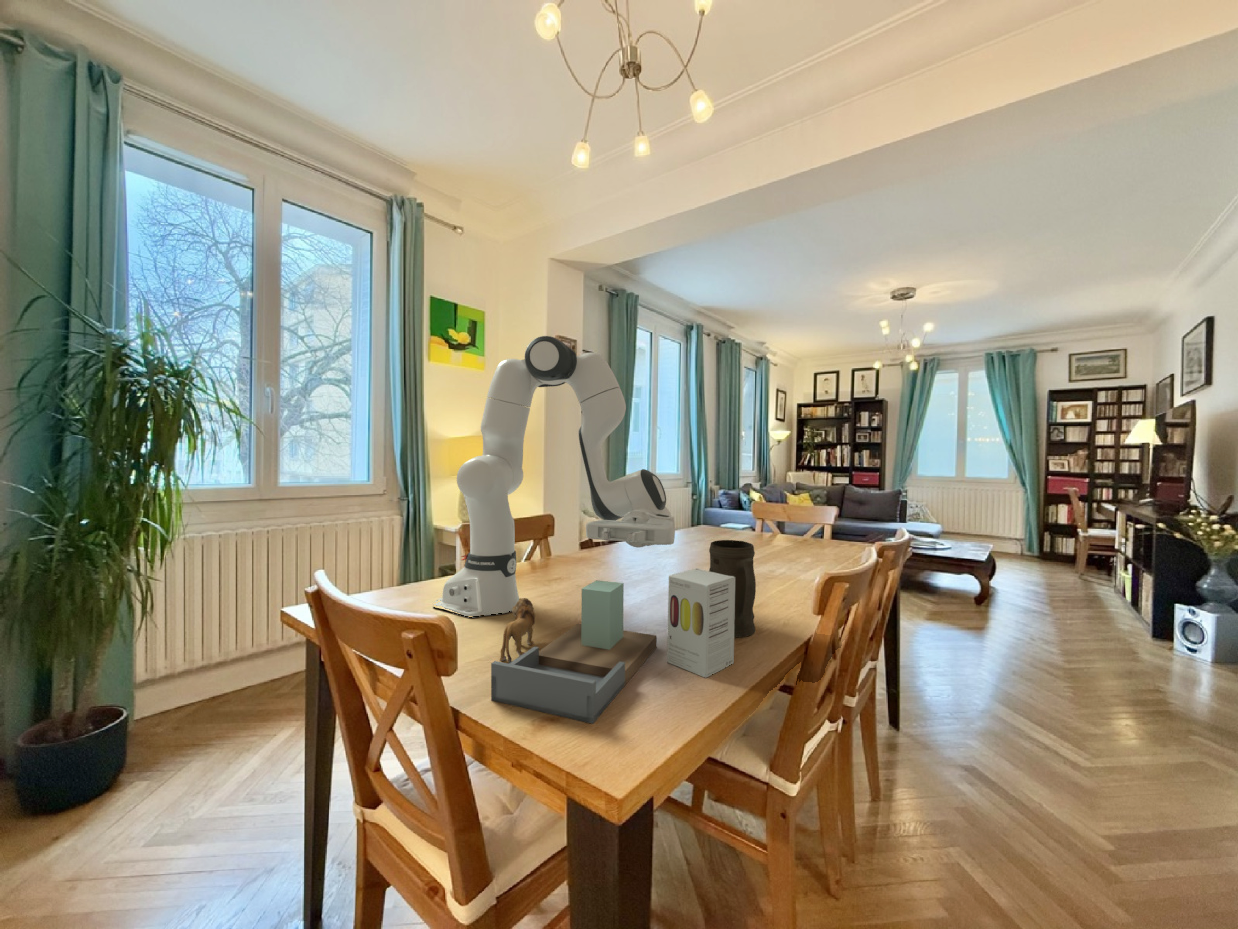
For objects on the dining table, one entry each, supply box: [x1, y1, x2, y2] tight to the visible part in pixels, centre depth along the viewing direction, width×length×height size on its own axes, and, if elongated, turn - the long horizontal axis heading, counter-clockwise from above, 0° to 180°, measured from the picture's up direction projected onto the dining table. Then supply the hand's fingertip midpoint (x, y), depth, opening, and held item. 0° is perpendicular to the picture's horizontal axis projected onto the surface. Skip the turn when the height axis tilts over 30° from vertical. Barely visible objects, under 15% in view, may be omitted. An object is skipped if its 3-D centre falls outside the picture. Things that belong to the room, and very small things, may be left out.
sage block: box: [580, 579, 625, 650], centre depth 99 cm, size 6×7×11 cm
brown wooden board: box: [539, 623, 658, 686], centre depth 97 cm, size 18×18×2 cm
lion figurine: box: [499, 597, 536, 664], centre depth 100 cm, size 15×5×9 cm, turn 0°
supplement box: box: [666, 568, 735, 678], centre depth 94 cm, size 10×9×17 cm
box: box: [490, 646, 626, 724], centre depth 82 cm, size 18×13×6 cm
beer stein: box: [708, 539, 757, 638], centre depth 110 cm, size 15×11×20 cm
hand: (617, 537), depth 105 cm, fingers open, 5 cm apart
